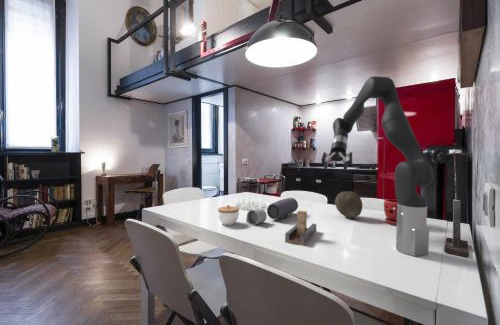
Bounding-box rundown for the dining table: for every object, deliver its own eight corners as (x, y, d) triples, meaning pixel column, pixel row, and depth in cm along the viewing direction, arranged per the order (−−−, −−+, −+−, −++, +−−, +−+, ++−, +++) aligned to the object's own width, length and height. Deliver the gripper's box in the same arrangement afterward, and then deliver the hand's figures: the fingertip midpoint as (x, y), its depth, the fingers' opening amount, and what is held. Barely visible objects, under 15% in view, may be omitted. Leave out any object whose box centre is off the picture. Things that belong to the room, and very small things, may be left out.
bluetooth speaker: (284, 212, 152) (285, 196, 152) (298, 214, 147) (299, 197, 146) (265, 220, 133) (265, 201, 133) (280, 223, 128) (281, 203, 128)
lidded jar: (229, 227, 119) (229, 208, 119) (213, 223, 126) (213, 205, 125) (243, 222, 128) (243, 204, 127) (227, 219, 134) (227, 202, 134)
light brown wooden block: (299, 232, 109) (299, 210, 109) (306, 233, 108) (306, 210, 108) (297, 234, 106) (297, 211, 106) (304, 235, 105) (304, 212, 104)
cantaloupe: (357, 215, 145) (358, 189, 145) (365, 221, 131) (366, 193, 131) (333, 214, 147) (333, 189, 147) (337, 220, 133) (338, 192, 133)
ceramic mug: (267, 223, 127) (267, 208, 127) (257, 226, 121) (257, 211, 121) (252, 219, 134) (252, 205, 134) (242, 222, 128) (241, 208, 128)
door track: (299, 228, 118) (299, 221, 118) (316, 231, 114) (316, 224, 114) (285, 241, 100) (285, 233, 100) (304, 245, 96) (304, 236, 96)
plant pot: (417, 228, 120) (418, 203, 119) (388, 226, 122) (389, 202, 122) (406, 221, 132) (407, 199, 132) (380, 219, 135) (380, 198, 135)
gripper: (324, 140, 129) (318, 163, 119) (353, 140, 122) (350, 164, 112) (326, 151, 133) (321, 173, 124) (354, 151, 127) (351, 175, 117)
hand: (335, 169), depth 118 cm, fingers open, 8 cm apart
